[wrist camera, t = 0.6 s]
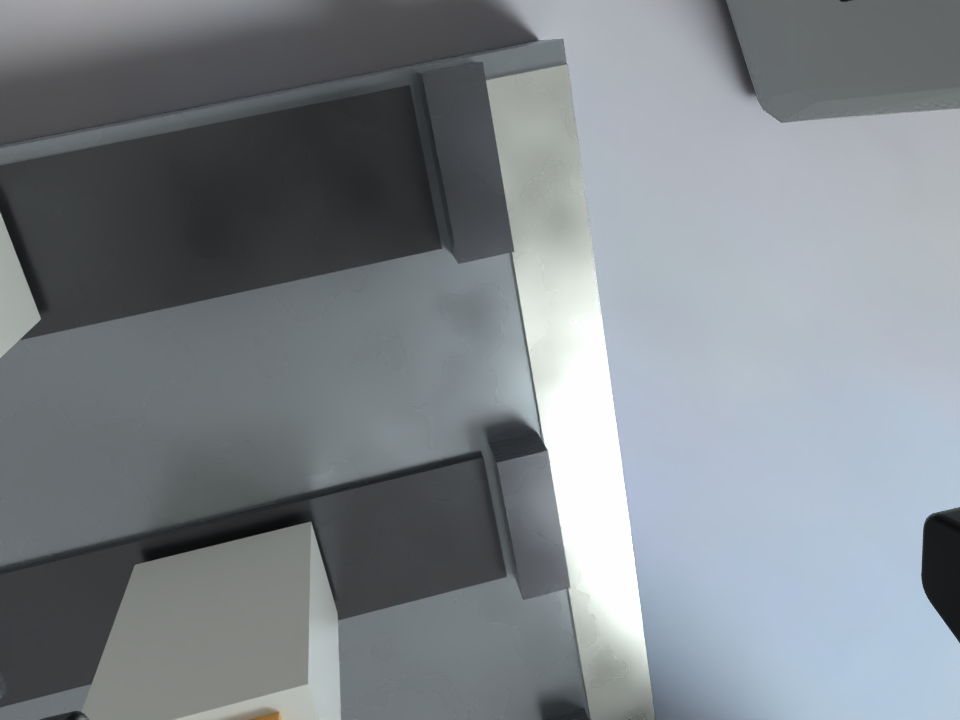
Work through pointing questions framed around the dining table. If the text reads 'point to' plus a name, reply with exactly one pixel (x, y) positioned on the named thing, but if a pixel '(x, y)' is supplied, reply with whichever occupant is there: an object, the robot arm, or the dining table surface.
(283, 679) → the breaker
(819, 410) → the dining table surface
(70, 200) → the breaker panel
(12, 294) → the breaker
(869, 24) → the electrical switch
